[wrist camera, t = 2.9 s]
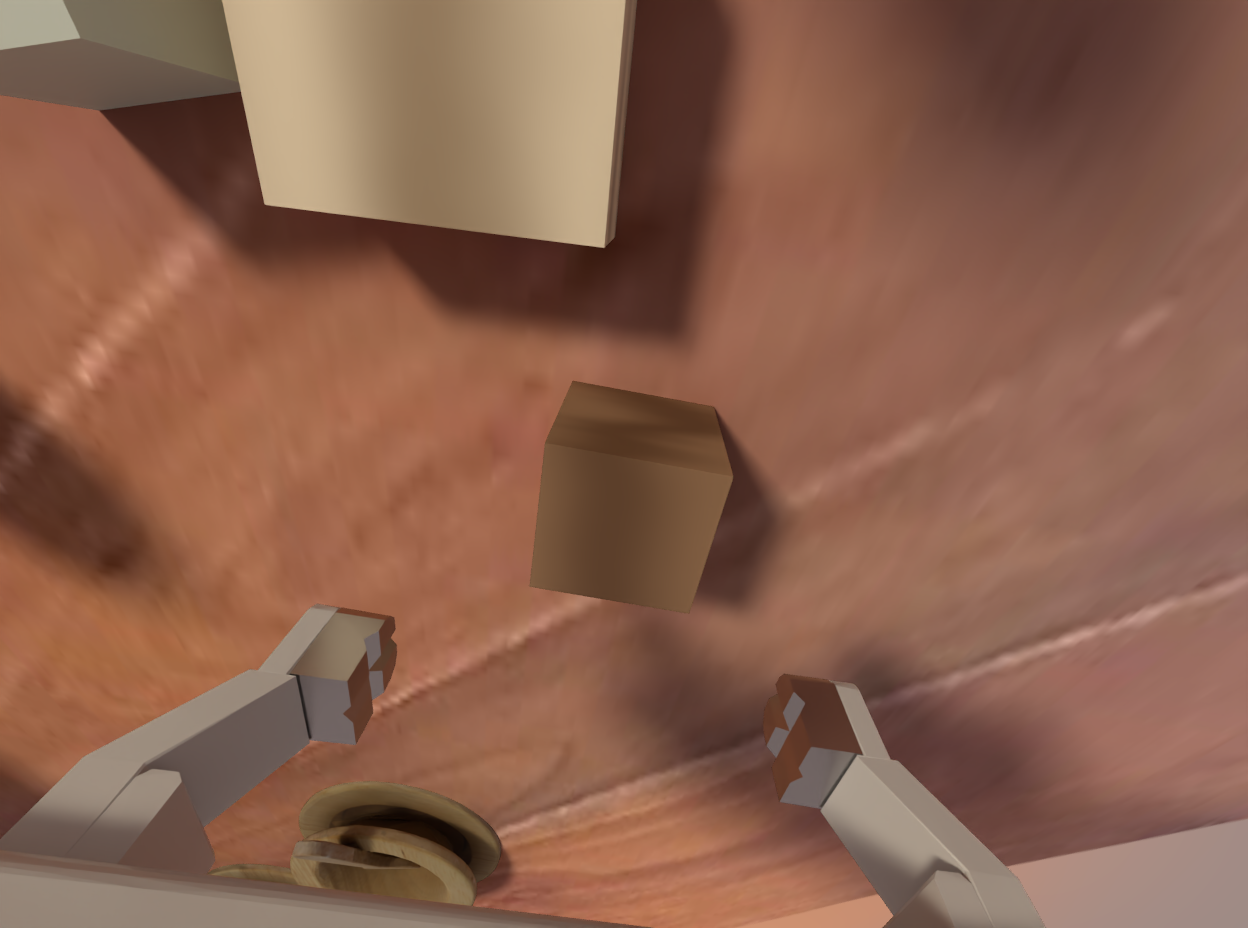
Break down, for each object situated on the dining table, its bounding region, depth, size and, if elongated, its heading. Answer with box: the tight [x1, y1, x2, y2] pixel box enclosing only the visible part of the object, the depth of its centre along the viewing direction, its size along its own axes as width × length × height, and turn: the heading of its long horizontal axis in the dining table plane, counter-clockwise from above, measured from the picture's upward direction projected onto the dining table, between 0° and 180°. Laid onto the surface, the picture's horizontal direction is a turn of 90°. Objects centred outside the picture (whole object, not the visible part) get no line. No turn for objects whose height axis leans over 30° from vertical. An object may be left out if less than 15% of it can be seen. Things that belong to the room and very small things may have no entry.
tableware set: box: [207, 781, 501, 906], centre depth 34 cm, size 30×20×6 cm, turn 136°
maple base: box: [222, 0, 637, 248], centre depth 11 cm, size 8×8×4 cm
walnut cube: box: [530, 381, 734, 614], centre depth 16 cm, size 5×5×5 cm
